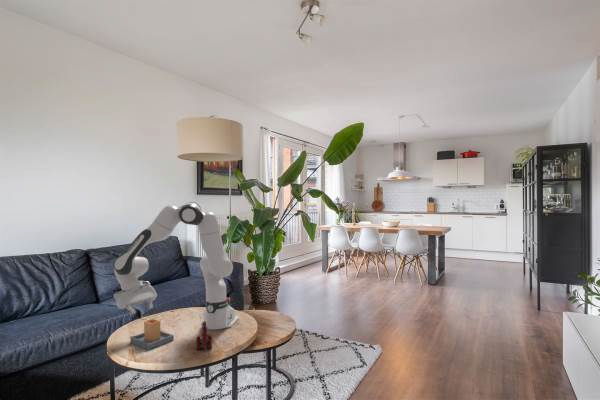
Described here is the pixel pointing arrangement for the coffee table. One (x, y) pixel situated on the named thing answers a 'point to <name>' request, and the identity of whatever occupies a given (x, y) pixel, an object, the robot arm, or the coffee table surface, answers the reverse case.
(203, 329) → the toy fire truck
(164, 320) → the coffee table surface
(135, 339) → the tray
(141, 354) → the coffee table surface
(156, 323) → the box
